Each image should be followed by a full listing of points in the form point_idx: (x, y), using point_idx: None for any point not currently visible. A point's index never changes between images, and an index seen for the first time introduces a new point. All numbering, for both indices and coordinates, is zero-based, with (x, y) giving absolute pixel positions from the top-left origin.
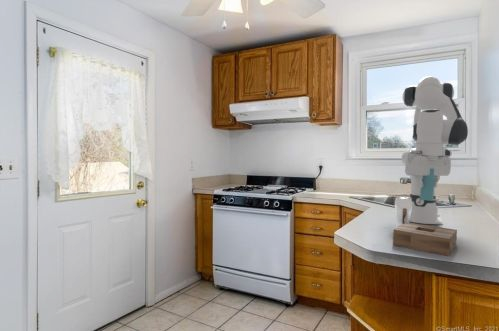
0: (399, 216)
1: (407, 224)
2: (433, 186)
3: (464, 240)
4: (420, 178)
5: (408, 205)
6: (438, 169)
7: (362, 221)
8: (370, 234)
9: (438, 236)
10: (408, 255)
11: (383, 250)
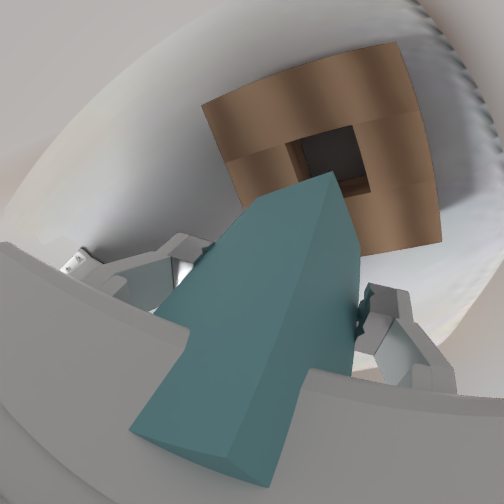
0: None
1: None
2: (249, 236)
3: (150, 128)
4: (447, 371)
5: None
6: (46, 355)
7: None
8: None
9: (403, 81)
10: (490, 137)
11: (500, 206)
